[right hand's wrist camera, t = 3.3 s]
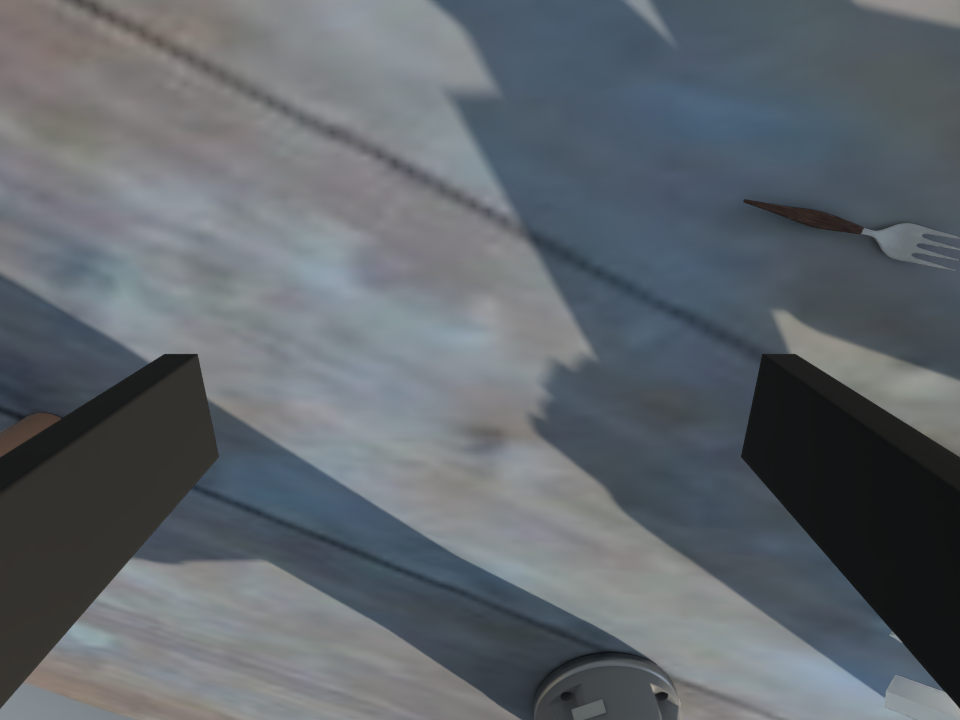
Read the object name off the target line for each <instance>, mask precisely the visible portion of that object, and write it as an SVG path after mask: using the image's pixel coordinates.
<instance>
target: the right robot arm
mask: <svg viewBox="0 0 960 720" xmlns="http://www.w3.org/2000/svg"><path fill="white" fill-rule="evenodd" d="M218 457H219V455H218V450H217V445H216V440H215V436H214V431H213V426H212V421H211V416H210V412H209V407H208V402H207V397H206V392H205V388H204V383H203V378H202V373H201V368H200V364H199V359H198V354H164V355H162V356H161V357H159V358H158V359H156V360H154V361H153V362H151V363H150V364H148V365H146V366H145V367H143V368H142V369H140V370H138V371H137V372H135V373H134V374H132V375H130V376H129V377H127V378H126V379H124V380H123V381H121V382H119V383H118V384H116V385H115V386H113V387H111V388H110V389H108V390H107V391H105V392H103V393H102V394H100V395H99V396H97V397H95V398H94V399H92V400H91V401H89V402H87V403H86V404H84V405H83V406H81V407H80V408H78V409H76V410H75V411H73V412H72V413H70V414H68V415H67V416H65V417H64V418H62V419H60V420H59V421H57V422H56V423H54V424H52V425H51V426H49V427H48V428H46V429H44V430H43V431H41V432H40V433H38V434H37V435H35V436H33V437H32V438H30V439H29V440H27V441H25V442H24V443H22V444H21V445H19V446H17V447H16V448H14V449H13V450H11V451H9V452H8V453H6V454H5V455H3V456H1V457H0V708H1V707H2V706H3V705H4V704H5V702H6V701H7V700H8V699H9V698H10V697H11V696H12V695H13V693H14V692H15V691H16V690H17V689H18V688H19V686H20V685H21V684H22V683H23V682H24V681H25V680H26V678H27V677H28V676H29V675H30V674H31V673H32V672H33V670H34V669H35V668H36V667H37V666H38V665H39V663H40V662H41V661H42V660H43V659H44V658H45V657H46V655H47V654H48V653H49V652H50V651H51V650H52V648H53V647H54V646H55V645H56V644H57V643H58V642H59V640H60V639H61V638H62V637H63V636H64V635H65V634H66V632H67V631H68V630H69V629H70V628H71V627H72V625H73V624H74V623H75V622H76V621H77V620H78V619H79V617H80V616H81V615H82V614H83V613H84V612H85V610H86V609H87V608H88V607H89V606H90V605H91V604H92V602H93V601H94V600H95V599H96V598H97V597H98V595H99V594H100V593H101V592H102V591H103V590H104V589H105V587H106V586H107V585H108V584H109V583H110V582H111V581H112V579H113V578H114V577H115V576H116V575H117V574H118V572H119V571H120V570H121V569H122V568H123V567H124V566H125V564H126V563H127V562H128V561H129V560H130V559H131V557H132V556H133V555H134V554H135V553H136V552H137V551H138V549H139V548H140V547H141V546H142V545H143V544H144V543H145V541H146V540H147V539H148V538H149V537H150V536H151V534H152V533H153V532H154V531H155V530H156V529H157V528H158V526H159V525H160V524H161V523H162V522H163V521H164V519H165V518H166V517H167V516H168V515H169V514H170V513H171V511H172V510H173V509H174V508H175V507H176V506H177V504H178V503H179V502H180V501H181V500H182V499H183V498H184V496H185V495H186V494H187V493H188V492H189V491H190V490H191V488H192V487H193V486H194V485H195V484H196V483H197V481H198V480H199V479H200V478H201V477H202V476H203V475H204V473H205V472H206V471H207V470H208V469H209V468H210V466H211V465H212V464H213V463H214V462H215V461H216V460H217V458H218ZM741 457H742V458H743V460H744V461H745V462H746V463H747V464H748V465H749V466H750V468H751V469H752V470H753V471H754V472H755V473H756V475H757V476H758V477H759V478H760V479H761V480H762V481H763V483H764V484H765V485H766V486H767V487H768V488H769V490H770V491H771V492H772V493H773V494H774V495H775V496H776V498H777V499H778V500H779V501H780V502H781V503H782V504H783V506H784V507H785V508H786V509H787V510H788V511H789V513H790V514H791V515H792V516H793V517H794V518H795V519H796V521H797V522H798V523H799V524H800V525H801V526H802V528H803V529H804V530H805V531H806V532H807V533H808V534H809V536H810V537H811V538H812V539H813V540H814V541H815V543H816V544H817V545H818V546H819V547H820V548H821V549H822V551H823V552H824V553H825V554H826V555H827V556H828V557H829V559H830V560H831V561H832V562H833V563H834V564H835V566H836V567H837V568H838V569H839V570H840V571H841V572H842V574H843V575H844V576H845V577H846V578H847V579H848V581H849V582H850V583H851V584H852V585H853V586H854V587H855V589H856V590H857V591H858V592H859V593H860V594H861V595H862V597H863V598H864V599H865V600H866V601H867V602H868V604H869V605H870V606H871V607H872V608H873V609H874V610H875V612H876V613H877V614H878V615H879V616H880V617H881V619H882V620H883V621H884V622H885V623H886V624H887V625H888V627H889V628H890V629H891V630H892V631H893V632H894V634H895V635H896V636H897V637H898V638H899V639H900V640H901V642H902V643H903V644H904V645H905V646H906V647H907V648H908V650H909V651H910V652H911V653H912V654H913V655H914V657H915V658H916V659H917V660H918V661H919V662H920V663H921V665H922V666H923V667H924V668H925V669H926V670H927V672H928V673H929V674H930V675H931V676H932V677H933V678H934V680H935V681H936V682H937V683H938V684H939V685H940V686H941V688H942V689H943V690H944V691H945V692H946V693H947V695H948V696H949V697H950V698H951V699H952V700H953V701H954V703H955V704H956V705H957V706H958V707H959V708H960V457H959V456H957V455H955V454H954V453H952V452H951V451H949V450H947V449H946V448H944V447H943V446H941V445H939V444H938V443H936V442H935V441H933V440H931V439H930V438H928V437H927V436H925V435H923V434H922V433H920V432H919V431H917V430H916V429H914V428H912V427H911V426H909V425H908V424H906V423H904V422H903V421H901V420H900V419H898V418H896V417H895V416H893V415H892V414H890V413H888V412H887V411H885V410H884V409H882V408H880V407H879V406H877V405H876V404H874V403H873V402H871V401H869V400H868V399H866V398H865V397H863V396H861V395H860V394H858V393H857V392H855V391H853V390H852V389H850V388H849V387H847V386H845V385H844V384H842V383H841V382H839V381H837V380H836V379H834V378H833V377H831V376H830V375H828V374H826V373H825V372H823V371H822V370H820V369H818V368H817V367H815V366H814V365H812V364H810V363H809V362H807V361H806V360H804V359H802V358H801V357H799V356H798V355H796V354H762V359H761V364H760V368H759V373H758V378H757V383H756V388H755V392H754V397H753V402H752V407H751V412H750V416H749V421H748V426H747V431H746V436H745V440H744V445H743V450H742V455H741ZM533 710H534V720H682V711H681V705H680V701H679V698H678V695H677V692H676V690H675V687H674V685H673V682H672V681H671V679H670V677H669V676H668V675H667V674H666V673H665V672H664V671H663V670H662V669H661V668H660V667H658V666H657V665H655V664H654V663H652V662H650V661H648V660H646V659H643V658H640V657H637V656H633V655H628V654H621V653H600V654H593V655H588V656H584V657H581V658H578V659H575V660H572V661H570V662H568V663H566V664H564V665H562V666H560V667H559V668H557V669H556V670H554V671H553V672H552V673H551V674H550V675H548V676H547V677H546V679H545V680H544V681H543V682H542V683H541V685H540V686H539V688H538V690H537V692H536V695H535V698H534V704H533Z"/></svg>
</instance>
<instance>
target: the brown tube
mask: <svg viewBox="0 0 960 720" xmlns="http://www.w3.org/2000/svg"><path fill="white" fill-rule="evenodd" d="M60 419H62V418H60V417H58V416H55V415H53V414H49V413H34V414H31V415H29V416H27V417H25V418H23V419H22V420H20V421H18V422H17V423H15V424H13V425H11V426H10V427H8V428H6V429H4V430H3V431H1V432H0V457H1V456H3V455H5V454H6V453H8V452H9V451H11V450H13V449H14V448H16V447H17V446H19V445H21V444H22V443H24V442H25V441H27V440H29V439H30V438H32V437H33V436H35V435H37V434H38V433H40V432H41V431H43V430H44V429H46V428H48V427H49V426H51V425H52V424H54V423H56V422H57V421H59V420H60Z"/></svg>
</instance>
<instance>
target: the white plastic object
mask: <svg viewBox="0 0 960 720" xmlns="http://www.w3.org/2000/svg"><path fill="white" fill-rule="evenodd" d="M889 635H890V636H892V637H893V638H895V639H897V640H898V641H900V642H901V640H900V639H899V638H898V637H897V636H896V635H895V634H894V632H893V631H891V633H890V634H889ZM901 643H902V642H901ZM885 708H888V709H890V710H893V711H895V712H898V713H901V714H903V715H906V716H908V717H911V718H913V719H916V720H960V708H959V707H958V706H957V705H956V704H955V703H954V701H953V700H952V699H951V698H950V697H949V696H948V695H947V693H946V692H943V691H941V690H938V689H935V688H932V687H929V686H927V685H924V684H921V683H918V682H915V681H912V680H910V679H907V678H904V677H901V676H898V675H895V676H894V678H893V680H892V681H891V683H890V685H889V686H888V688H887V690H886V697H885Z"/></svg>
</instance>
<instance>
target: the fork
mask: <svg viewBox="0 0 960 720" xmlns="http://www.w3.org/2000/svg"><path fill="white" fill-rule="evenodd" d="M743 202H745V203H747V204H750V205H753V206H756V207H759V208H762V209H765V210H767V211H770V212H773V213H776V214H778V215H781V216H784V217H786V218H789V219H791V220H794V221H796V222H799V223H802V224H805V225H808V226H811V227H815V228H820V229H826V230H833V231H841V232H848V233H856V234H863V235H868V236H871V237H873V238H874V239H875V240H876V241H877V243H878V244H879V246H880V248H881V249H882V251H883V252H884V253H885V254H886V255H887V256H889V257H891V258H893V259H896V260H901V261H907V262H912V263H917V264H922V265H927V266H932V267H937V268H942V269H947V270H952V271H956V270H955V269H951V268H947V267H944V266H941V265H938V264H934V263H931V262H928V261H924V260H921V259H918V258H915V257H913V256H912V254H913V253H918V254H924V255H929V256H934V257H940V258H945V259H951V260H956V261H960V260H958V259H955V258H951V257H948V256H945V255H941V254H938V253H935V252H931V251H928V250H924V249H921V248H919V247H917V244H927V245H932V246H938V247H943V248H949V249H954V250H960V249H959V248H956V247H953V246H949V245H946V244H942V243H939V242H935V241H932V240H928V239H926V238H923V237H922V235H923V234H930V235H936V236H942V237H947V238H953V239H959V240H960V237H958V236H954V235H951V234H947V233H943V232H940V231H936V230H933V229H929V228H926V227H923V226H919V225H916V224H911V223H902V224H897V225H894V226H891V227H888V228H886V229H883V230H879V231H873V230H869V229H866V228H864V227H861V226H859V225H856V224H854V223H851V222H849V221H847V220H844V219H842V218H839V217H837V216H834V215H831V214H828V213H825V212H821V211H817V210H811V209H804V208H797V207H789V206H782V205H775V204H769V203H763V202H757V201H752V200H745V199H744V201H743Z"/></svg>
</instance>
